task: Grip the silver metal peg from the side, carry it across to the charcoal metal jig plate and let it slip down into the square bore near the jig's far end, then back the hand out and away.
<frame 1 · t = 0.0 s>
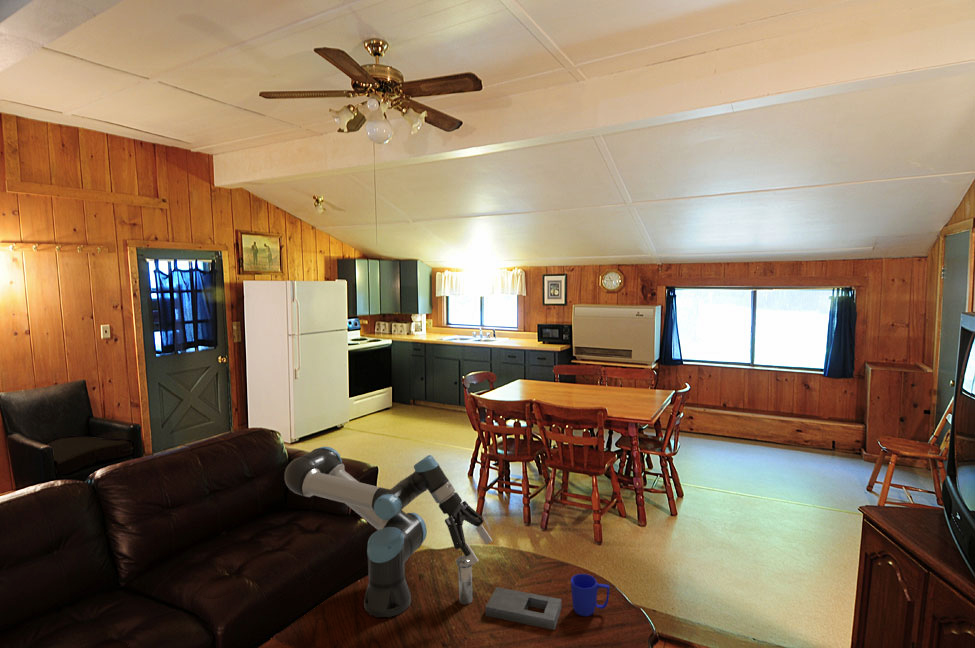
hand: (482, 552, 169), 15 cm above the table, tool tilted 35°, fingers open, 13 cm apart
jig: (524, 611, 161), on the table
silver metal peg: (465, 600, 168), on the table
mug: (590, 612, 161), on the table
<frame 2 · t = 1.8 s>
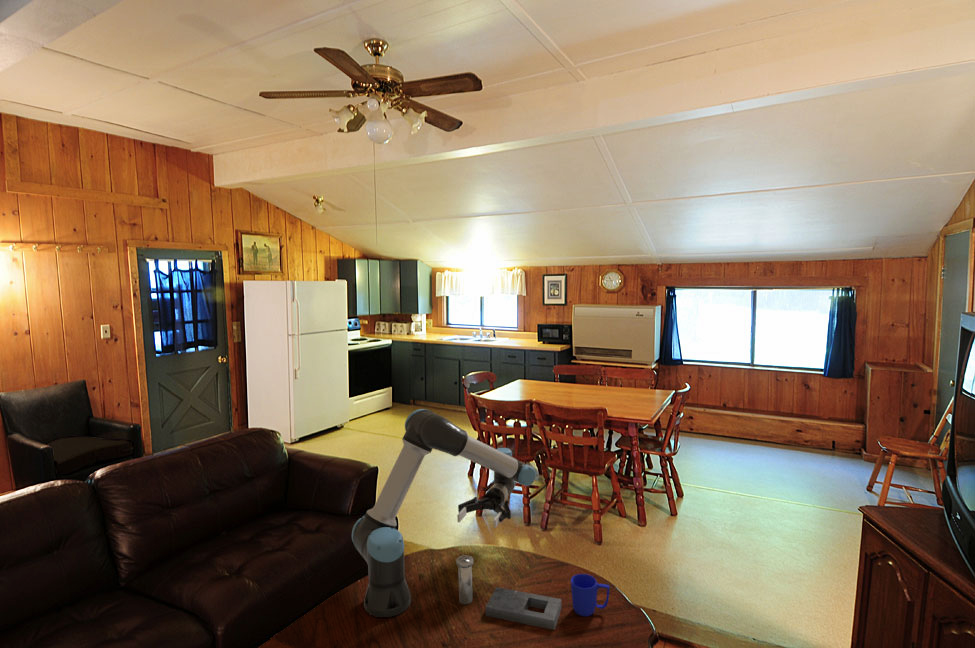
hand: (476, 521, 177), 22 cm above the table, tool horizontal, fingers open, 13 cm apart
nothing on the table moved.
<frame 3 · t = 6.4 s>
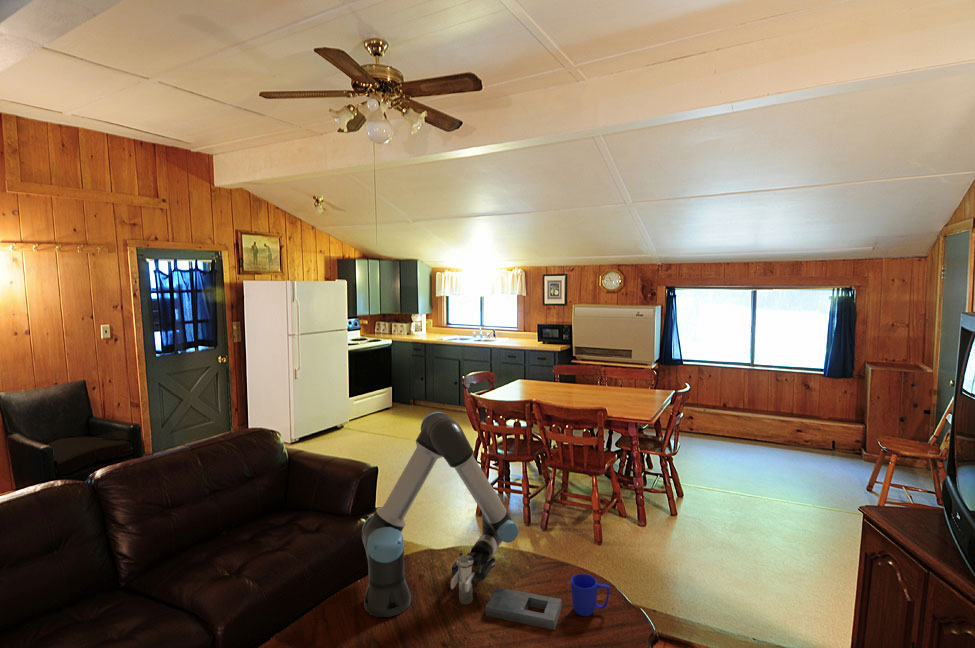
hand: (459, 586, 162), 8 cm above the table, tool horizontal, fingers closed on silver metal peg, 4 cm apart
silver metal peg: (465, 600, 168), on the table, touching gripper
everything else where it was.
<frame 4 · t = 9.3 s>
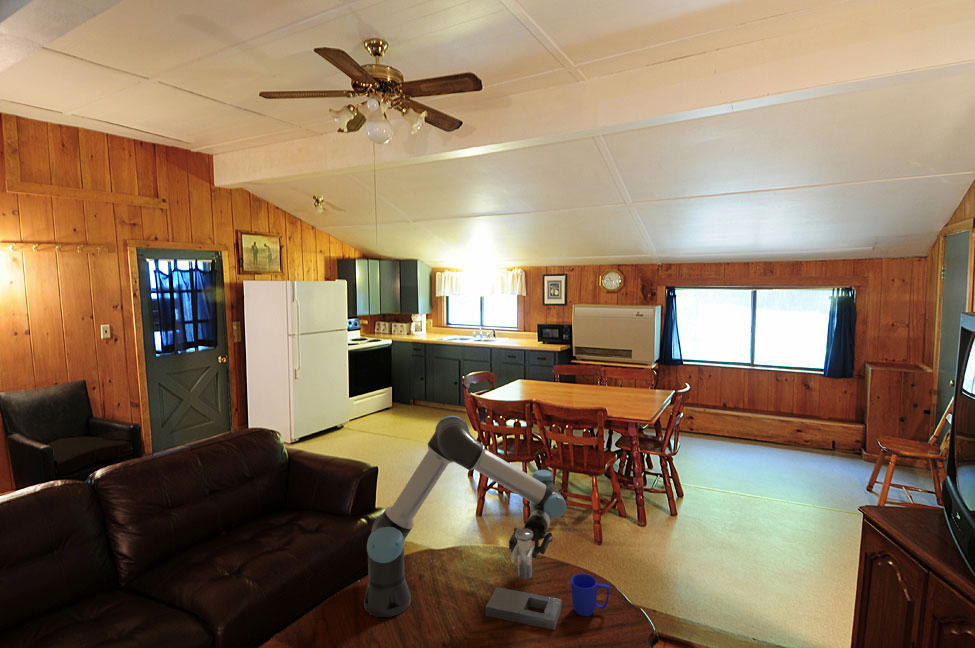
hand: (520, 559, 156), 20 cm above the table, tool horizontal, fingers closed on silver metal peg, 4 cm apart
silver metal peg: (525, 575, 162), point 12 cm above the table, touching gripper
everything else where it was.
when the fingers open (9 cm above the table, at t = 12.2 s): silver metal peg drops 1 cm, resting in jig.
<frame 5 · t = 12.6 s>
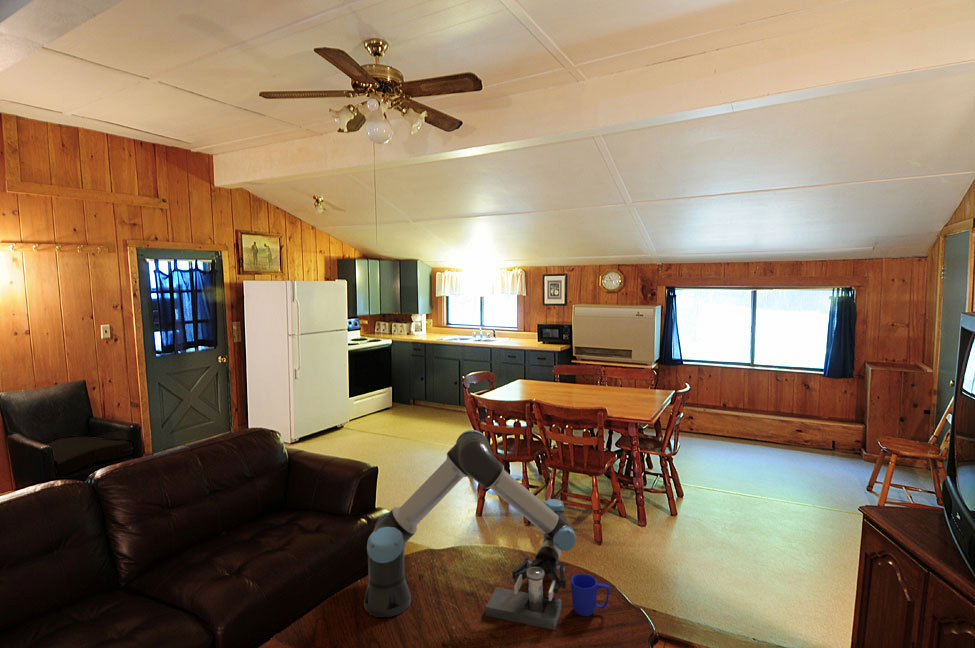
hand: (532, 593, 155), 9 cm above the table, tool horizontal, fingers open, 10 cm apart
silver metal peg: (536, 614, 160), resting in jig
everything else where it was.
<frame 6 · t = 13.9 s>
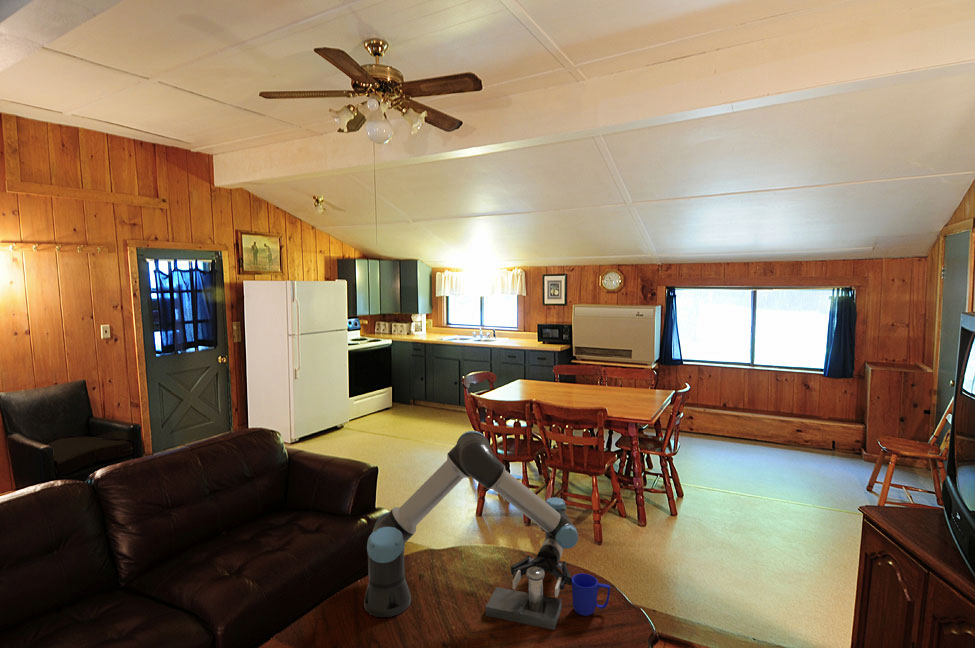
hand: (534, 589, 157), 10 cm above the table, tool horizontal, fingers open, 13 cm apart
nothing on the table moved.
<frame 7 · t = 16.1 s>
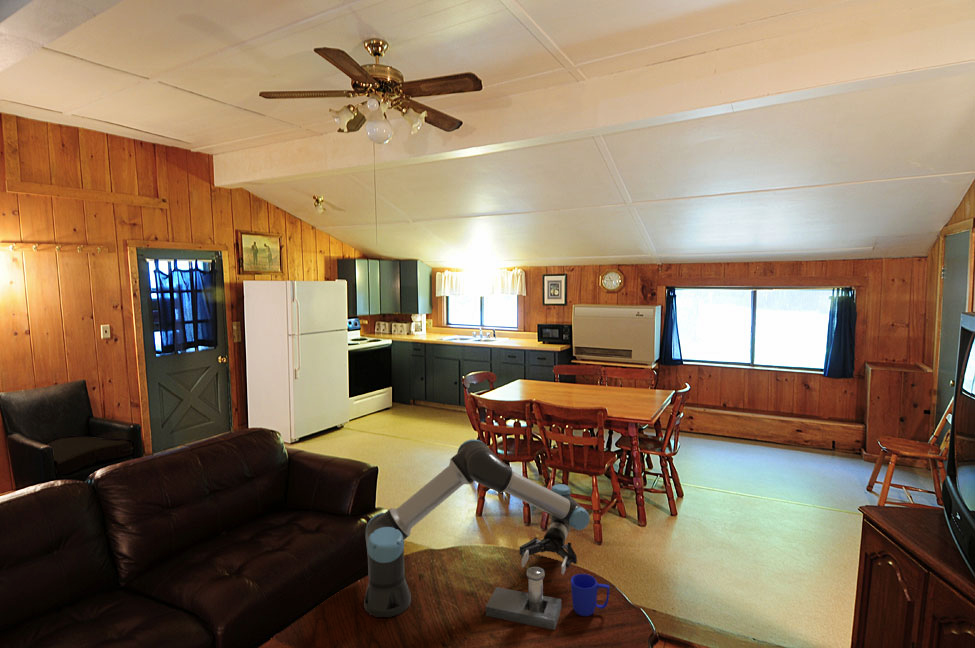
hand: (542, 566, 169), 10 cm above the table, tool horizontal, fingers open, 13 cm apart
nothing on the table moved.
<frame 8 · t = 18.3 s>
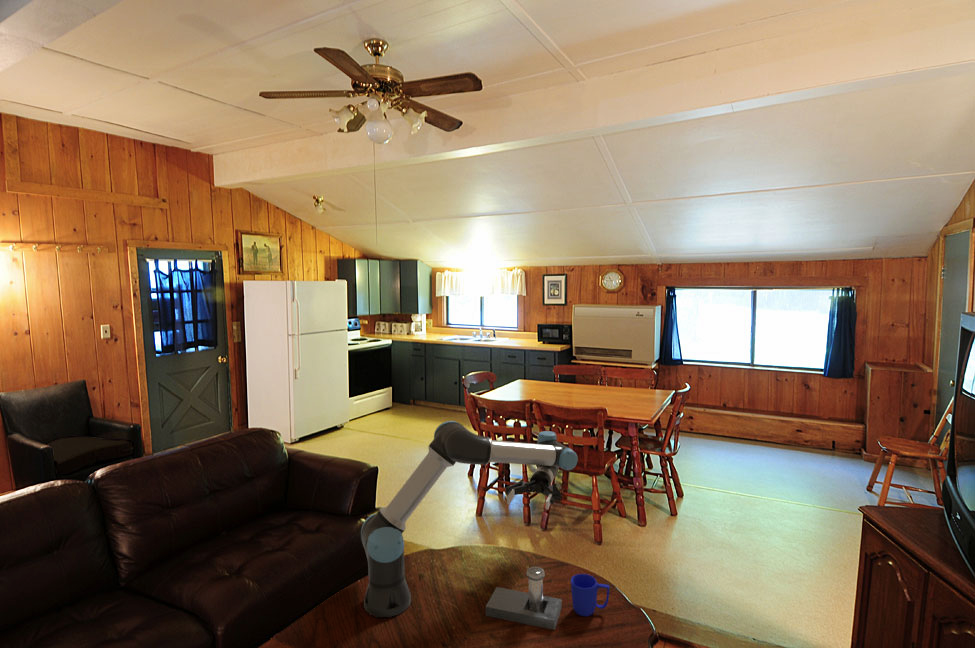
hand: (527, 503, 172), 30 cm above the table, tool horizontal, fingers open, 13 cm apart
nothing on the table moved.
at the end: silver metal peg 0.1 cm from the target spot on the jig, point 0.0 cm above the jig's base; silver metal peg tilted 0°; the gripper is holding nothing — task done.
